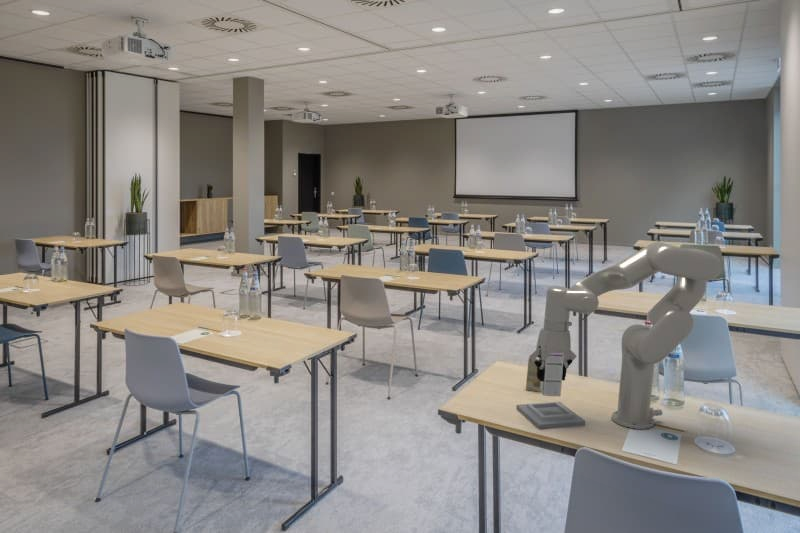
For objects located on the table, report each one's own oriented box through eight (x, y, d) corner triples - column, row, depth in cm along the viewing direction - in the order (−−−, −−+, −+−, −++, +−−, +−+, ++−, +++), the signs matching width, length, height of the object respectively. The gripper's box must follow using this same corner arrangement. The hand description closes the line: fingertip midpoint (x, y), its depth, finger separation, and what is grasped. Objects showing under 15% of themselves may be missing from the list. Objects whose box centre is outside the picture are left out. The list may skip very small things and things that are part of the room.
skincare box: (525, 390, 213) (527, 357, 211) (526, 386, 217) (528, 354, 215) (543, 392, 211) (545, 360, 209) (544, 388, 215) (546, 356, 213)
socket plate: (559, 405, 199) (560, 398, 199) (585, 425, 184) (585, 417, 183) (516, 409, 195) (516, 401, 195) (538, 429, 180) (539, 421, 179)
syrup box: (561, 396, 185) (565, 352, 183) (542, 395, 185) (546, 351, 183) (556, 390, 191) (560, 347, 189) (538, 389, 191) (542, 346, 189)
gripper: (574, 322, 191) (569, 374, 193) (525, 323, 186) (521, 376, 189) (586, 328, 183) (581, 382, 186) (536, 329, 179) (531, 384, 182)
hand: (551, 379), depth 188 cm, fingers closed on syrup box, 6 cm apart
